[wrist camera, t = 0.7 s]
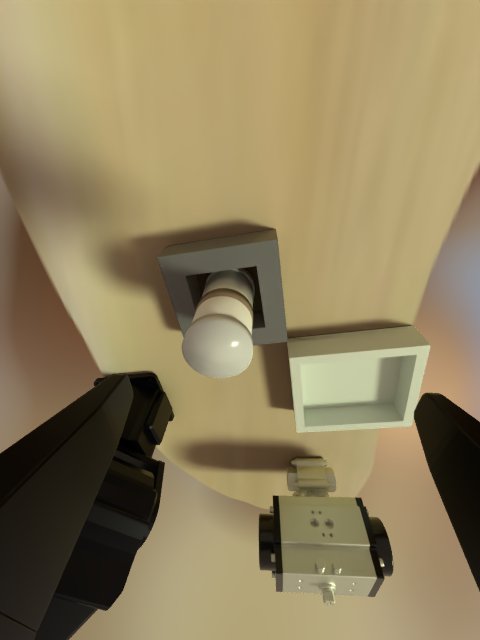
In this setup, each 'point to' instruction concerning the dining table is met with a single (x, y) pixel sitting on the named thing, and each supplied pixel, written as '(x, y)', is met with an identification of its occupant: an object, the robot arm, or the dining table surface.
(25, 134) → the dining table surface
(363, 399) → the parts tray
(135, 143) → the dining table surface
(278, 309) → the grey square frame
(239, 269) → the white light bulb
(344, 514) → the pneumatic valve
